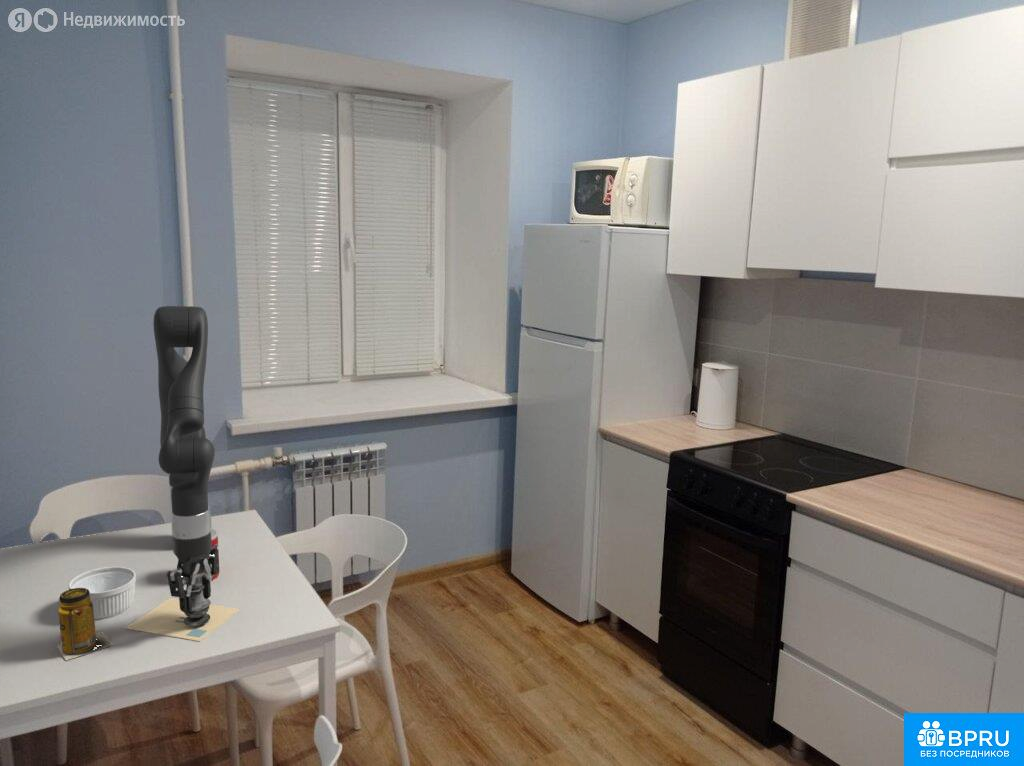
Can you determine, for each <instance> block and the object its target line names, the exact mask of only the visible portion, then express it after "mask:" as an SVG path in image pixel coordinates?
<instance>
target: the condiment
mask: <svg viewBox="0 0 1024 766" xmlns="http://www.w3.org/2000/svg"><path fill="white" fill-rule="evenodd" d="M90 599H91V598H90V592H89V590H88V589H86V588H74V589H70V590H69V589H67V590H65V591H63V592H62V593H61V594H59V598H58V600H59V608H58V619H59V630H60V641H61V643H60V644H57V645H56V647H57V649H58V650H59V652H60V654H61V655H62V657H63V659H64V660H65V661H69V660H71V659H75V658H76V659H77V658H78V657H81V656H84V655H88V654H90V653H93V652H96V651H99V650H102V649H104V648H107V647H110V646H113V644H112V643H111V642H110V640H109V639H108V638H107V635H105V633H104V632H103V631H100V632H99V631H98V632H96V625H95V623H96V622H95V619H94V611H93V603H92V601H91V600H90ZM96 639H97V640H96ZM96 645H102V646H99V647H97V646H96ZM94 647H97V649H95V650H93V649H94Z"/></svg>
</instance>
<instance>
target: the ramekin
mask: <svg viewBox="0 0 1024 766" xmlns="http://www.w3.org/2000/svg"><path fill="white" fill-rule="evenodd" d="M136 582H137V576H136V572H135V571H134V570H133V569H132V568H129V567H124V566H105V567H104V566H103V567H99V568H93V569H91V570H88V571H85V572H82V573H81V574H78V575H76V576H75V577H73V578H72V580H70V581H69V584H68V590H70V589H74V588H86V589H88V590H89V592H90V598H91V599H90V600H91V601H92V603H93V611H94V620H100V619H99V618H103V619H106V617H108V618H111V616H112V617H115V616H117V614H118V615H119V613H120V614H122V613H124V612H125V611H127V610H128V609H130V607H131V605H132V604H133V603H134V600H135V590H136ZM126 609H127V610H126ZM123 611H124V612H123ZM121 612H122V613H121ZM114 615H115V616H114Z"/></svg>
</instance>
